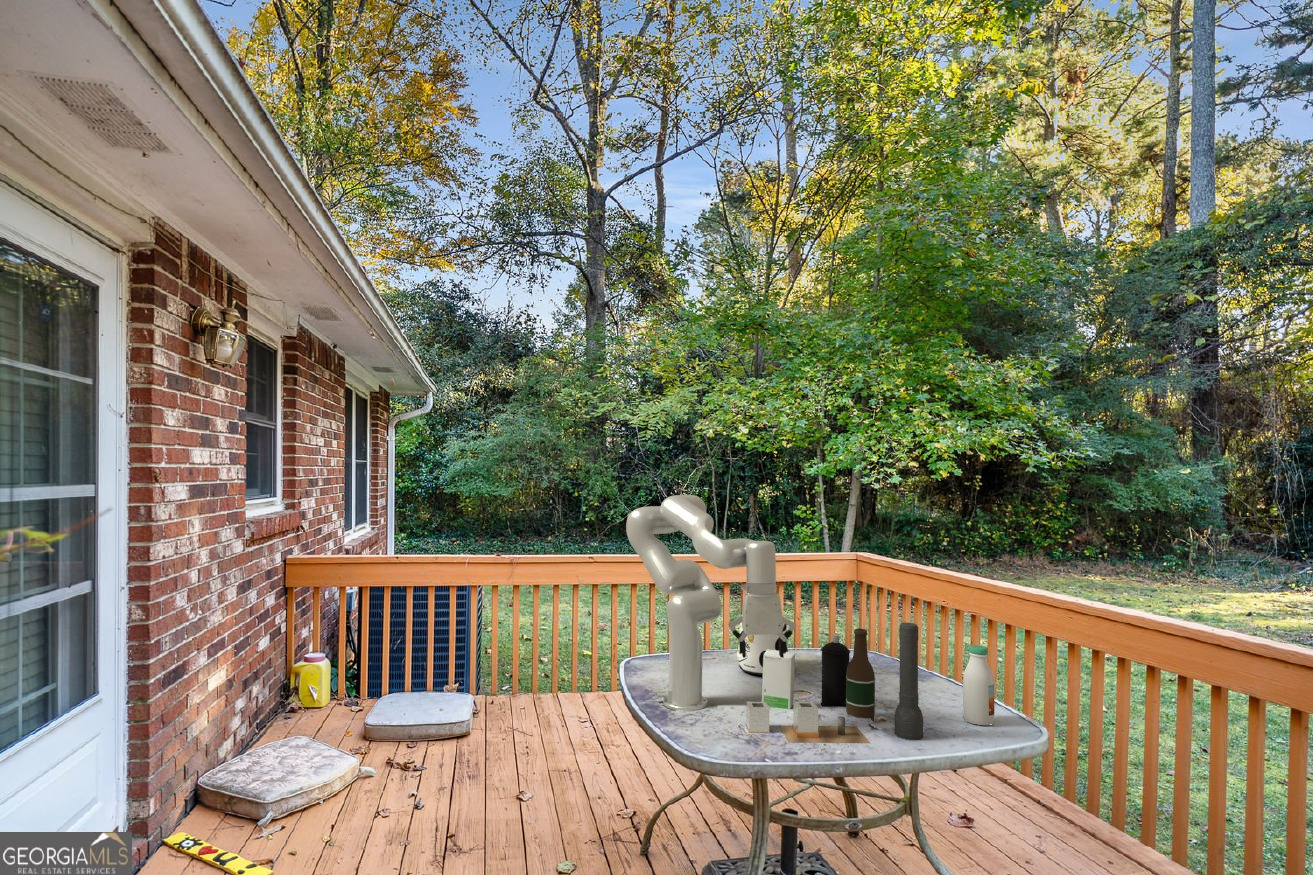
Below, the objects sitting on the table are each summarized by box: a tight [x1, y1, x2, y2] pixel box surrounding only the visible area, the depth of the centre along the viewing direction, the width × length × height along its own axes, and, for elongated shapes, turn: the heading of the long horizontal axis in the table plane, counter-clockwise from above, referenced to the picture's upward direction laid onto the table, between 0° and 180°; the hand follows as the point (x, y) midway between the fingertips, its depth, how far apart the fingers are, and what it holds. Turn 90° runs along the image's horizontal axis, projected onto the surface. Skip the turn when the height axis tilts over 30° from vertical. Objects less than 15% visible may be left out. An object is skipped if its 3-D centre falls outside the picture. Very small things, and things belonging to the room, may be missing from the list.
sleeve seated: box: [792, 701, 819, 738], centre depth 171 cm, size 5×5×7 cm
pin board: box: [779, 716, 871, 744], centre depth 171 cm, size 20×11×6 cm, turn 91°
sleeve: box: [745, 701, 771, 734], centre depth 174 cm, size 5×5×7 cm
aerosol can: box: [820, 634, 851, 708], centre depth 197 cm, size 8×8×20 cm
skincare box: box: [761, 649, 796, 710], centre depth 193 cm, size 8×7×16 cm
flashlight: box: [893, 622, 924, 741], centre depth 176 cm, size 7×28×7 cm
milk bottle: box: [962, 644, 996, 726], centre depth 186 cm, size 8×8×20 cm
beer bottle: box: [845, 627, 876, 722], centre depth 187 cm, size 8×8×24 cm
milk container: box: [736, 614, 789, 676], centre depth 229 cm, size 17×17×18 cm
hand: (762, 656), depth 177 cm, fingers open, 9 cm apart
